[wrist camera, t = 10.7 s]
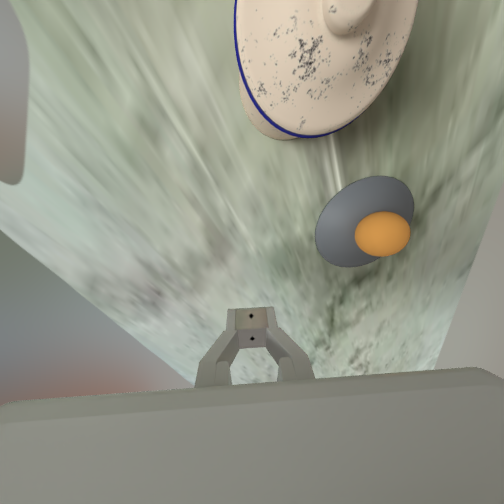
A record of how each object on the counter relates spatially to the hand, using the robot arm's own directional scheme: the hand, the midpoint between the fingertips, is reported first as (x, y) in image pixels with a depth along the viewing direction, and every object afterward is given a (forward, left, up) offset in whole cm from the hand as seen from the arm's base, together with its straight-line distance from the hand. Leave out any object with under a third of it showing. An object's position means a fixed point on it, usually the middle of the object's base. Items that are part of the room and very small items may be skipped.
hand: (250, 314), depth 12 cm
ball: (0, +17, -11) cm, 20 cm away
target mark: (0, +16, -14) cm, 21 cm away
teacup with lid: (-16, +4, -14) cm, 22 cm away
